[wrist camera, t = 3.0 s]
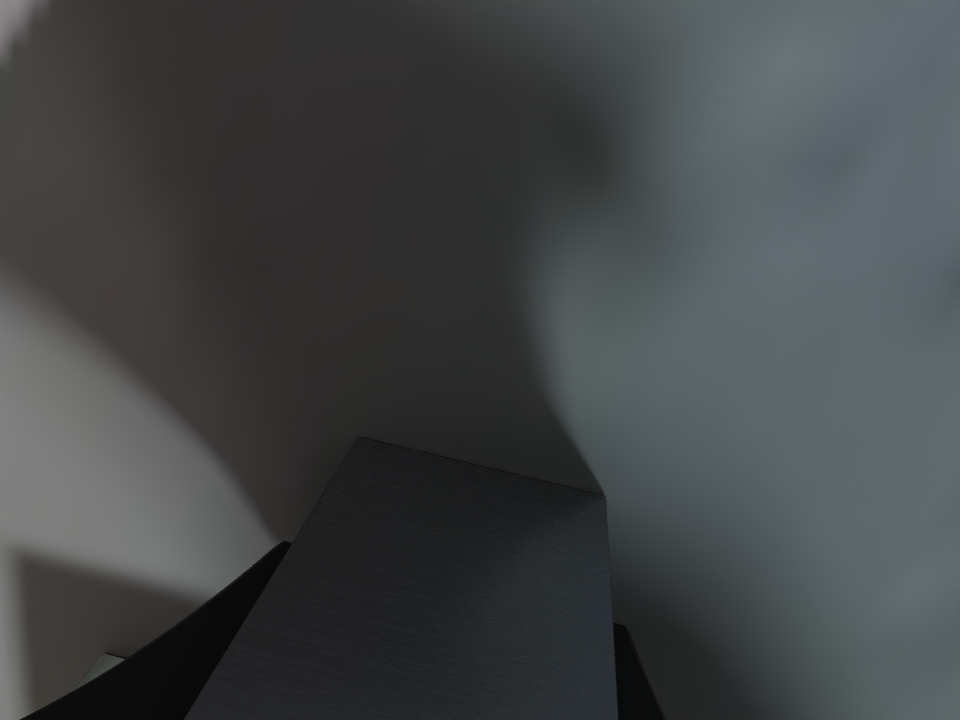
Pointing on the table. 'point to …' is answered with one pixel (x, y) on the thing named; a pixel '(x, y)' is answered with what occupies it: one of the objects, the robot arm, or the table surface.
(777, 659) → the table surface
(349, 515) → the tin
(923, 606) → the table surface
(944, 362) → the table surface
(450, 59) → the table surface
